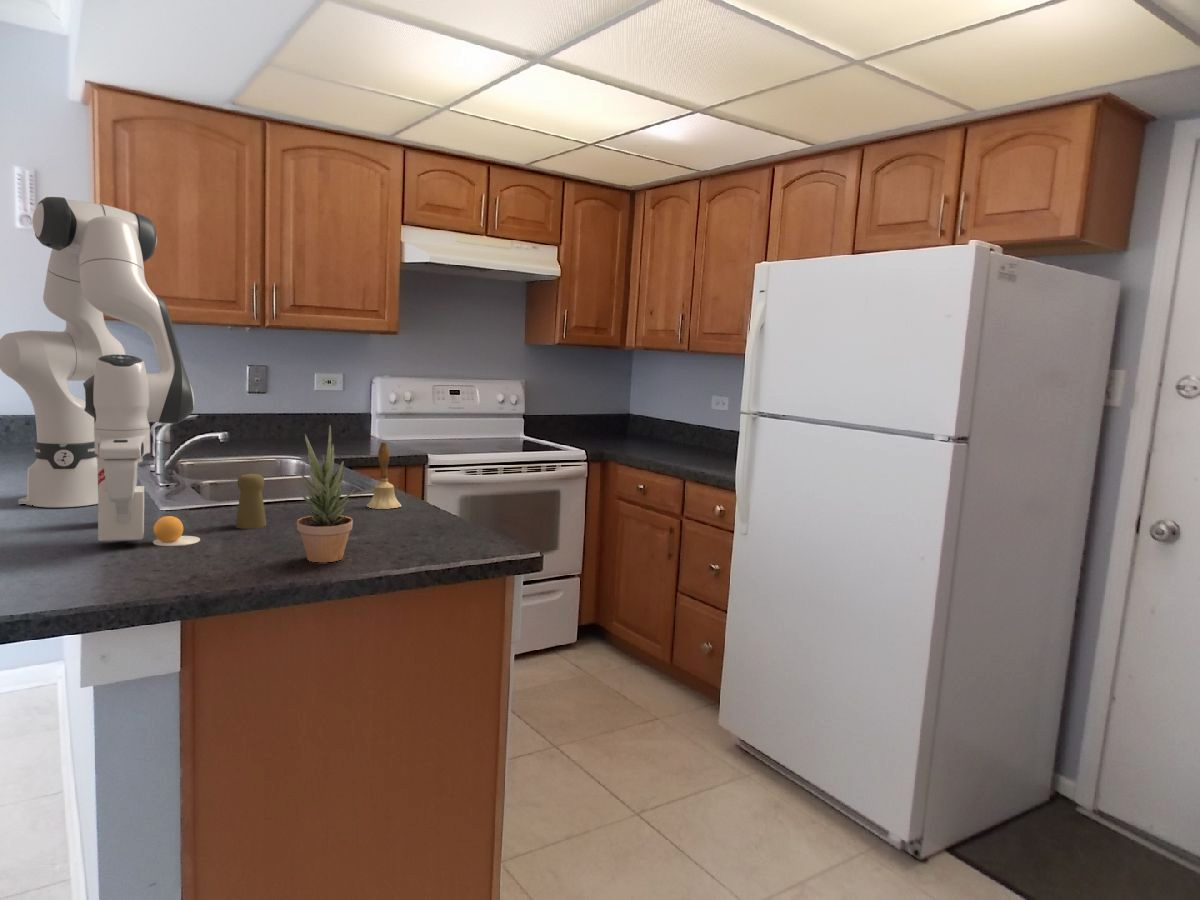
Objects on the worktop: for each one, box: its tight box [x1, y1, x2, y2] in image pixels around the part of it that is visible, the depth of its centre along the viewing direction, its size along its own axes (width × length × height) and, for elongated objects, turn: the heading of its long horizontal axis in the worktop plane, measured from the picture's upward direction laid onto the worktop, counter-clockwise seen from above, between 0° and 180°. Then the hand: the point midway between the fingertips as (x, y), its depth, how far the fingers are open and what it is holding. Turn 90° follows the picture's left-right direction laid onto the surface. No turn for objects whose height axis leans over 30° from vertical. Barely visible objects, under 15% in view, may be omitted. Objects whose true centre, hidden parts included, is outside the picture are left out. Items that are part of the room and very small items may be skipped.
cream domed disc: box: [152, 535, 201, 547], centre depth 155 cm, size 8×8×1 cm
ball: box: [153, 515, 184, 542], centre depth 154 cm, size 5×5×5 cm
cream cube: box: [97, 485, 145, 542], centre depth 150 cm, size 7×7×9 cm
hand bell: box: [366, 441, 402, 509], centre depth 197 cm, size 8×8×16 cm
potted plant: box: [296, 425, 356, 563], centre depth 145 cm, size 10×10×25 cm
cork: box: [235, 473, 267, 530], centre depth 170 cm, size 6×6×11 cm
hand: (124, 517), depth 150 cm, fingers closed on cream cube, 7 cm apart
